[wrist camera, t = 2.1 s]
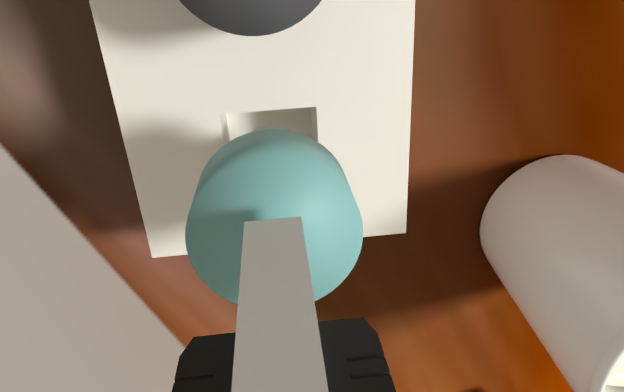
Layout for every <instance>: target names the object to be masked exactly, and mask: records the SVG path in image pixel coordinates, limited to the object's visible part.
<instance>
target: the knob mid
mask: <svg viewBox="0 0 624 392" xmlns="http://www.w3.org/2000/svg"><path fill="white" fill-rule="evenodd" d="M179 1H180V2H181V3H182V4H183V5H184V6H185V7H186V8H187V9H188V10H189V11H190V12H191V13H192V14H194V15H195V16H196V17H198V18H199V19H200V20H202V21H203V22H205V23H207V24H209V25H210V26H212V27H214V28H217V29H219V30H221V31H224V32H227V33H231V34H235V35H241V36H264V35H270V34H274V33H277V32H281V31H283V30H285V29H288V28H290V27H292V26H294V25H295V24H297V23H298V22H300V21H302V20H303V19H304V18H305V17H306V16H308V15H309V14H310V13H311V12H312V11H313V10H314V9H315V8H316V7H317V6H318V5H319V3H320V2H321V1H322V0H179Z"/></svg>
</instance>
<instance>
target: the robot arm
mask: <svg viewBox="0 0 624 392" xmlns="http://www.w3.org/2000/svg"><path fill="white" fill-rule="evenodd" d="M172 392H396V390H395V387H394V384H393V381H392V377H391V375H390V373H389V368H388V365H387V362H386V359H385V358H384V352H383V349H382V346H381V343H380V340H379V337H378V334H377V332H376V331H375V330H374V329H373V328H372V327H371V326H370V325H369V324H368V323H367V322H366V321H365V320H364V318H363V317H359V318H350V319H341V320H332V321H322V322H318V321H317V315H316V308H315V302H314V295H313V289H312V283H311V276H310V270H309V264H308V257H307V251H306V245H305V238H304V232H303V226H302V219H301V216H300V217H289V218H278V219H268V220H257V221H247V222H244V231H243V244H242V257H241V270H240V283H239V296H238V310H237V323H236V333H227V334H217V335H208V336H199V337H193V339H192V340H191V342H190V343H189V344H188V346H187V347H186V349H185V350H184V351H183V353H182V354H181V356H180V357H179V362H178V366H177V371H176V376H175V383H174V385H173V389H172Z"/></svg>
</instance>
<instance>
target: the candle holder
mask: <svg viewBox="0 0 624 392" xmlns="http://www.w3.org/2000/svg"><path fill="white" fill-rule="evenodd" d="M480 241H481V246H482V249H483V252H484V254H485V256H486V258H487V260H488V261H489V263H490V265H491V266H492V268H493V270H494V271H495V273H496V274H497V276H498V277H499V279H500V281H501V282H502V284H503V285H504V287H505V288H506V290H507V291H508V293H509V294H510V296H511V297H512V299H513V301H514V302H515V304H516V305H517V307H518V308H519V310H520V311H521V313H522V314H523V316H524V317H525V319H526V320H527V322H528V323H529V325H530V326H531V328H532V329H533V331H534V333H535V334H536V336H537V337H538V339H539V340H540V342H541V343H542V345H543V346H544V348H545V349H546V351H547V352H548V354H549V355H550V357H551V358H552V360H553V361H554V363H555V364H556V366H557V368H558V369H559V371H560V372H561V374H562V375H563V377H564V378H565V380H566V381H567V383H568V384H569V386H570V387H571V389H572V390H573V392H624V173H622V172H620V171H618V170H615V169H613V168H611V167H609V166H606V165H604V164H602V163H599V162H597V161H595V160H592V159H589V158H586V157H582V156H577V155H555V156H550V157H545V158H542V159H539V160H536V161H534V162H532V163H529V164H527V165H526V166H524V167H522V168H520V169H519V170H517V171H516V172H514V173H513V174H512V175H510V176H509V177H508V178H507V179H506V180H505V181H504V182H503V183H502V184H501V185H500V186H499V187H498V188H497V189H496V191H495V192H494V193H493V195H492V196H491V198H490V199H489V201H488V203H487V205H486V207H485V209H484V212H483V215H482V218H481V223H480Z"/></svg>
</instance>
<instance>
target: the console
mask: <svg viewBox="0 0 624 392" xmlns="http://www.w3.org/2000/svg"><path fill="white" fill-rule="evenodd" d="M89 3H90V7H91V11H92V15H93V19H94V23H95V27H96V31H97V35H98V39H99V43H100V47H101V51H102V55H103V60H104V64H105V68H106V72H107V76H108V80H109V84H110V88H111V92H112V96H113V100H114V104H115V108H116V112H117V116H118V120H119V124H120V128H121V133H122V137H123V141H124V145H125V149H126V153H127V157H128V161H129V165H130V169H131V173H132V177H133V181H134V185H135V189H136V193H137V197H138V201H139V206H140V210H141V214H142V218H143V222H144V226H145V230H146V234H147V238H148V242H149V246H150V250H151V254H152V258H155V257H166V256H176V255H186V254H188V253H187V250H186V243H185V228H186V222H187V217H188V214H189V211H190V208H191V204H192V201H193V198H194V195H195V191H196V188H197V185H198V182H199V179H200V176H201V173H202V171H203V169H204V168H205V166H206V164H207V163H208V161H209V160H210V158H211V157H212V156H213V155H214V154H215V153H216V152H217V151H218V150H219V149H220V148H221V147H223V146H224V145H225V144H226V143H228V142H230V141H231V140H233V139H235V138H237V137H239V136H242V135H244V134H247V133H250V132H252V131H254V130H255V129H258V128H260V127H264V126H279V127H283V128H286V129H287V130H289V131H293V132H297V133H300V134H303V135H305V136H308V137H310V138H312V139H314V140H316V141H317V142H319V143H320V144H321V145H323V146H324V147H325V148H327V149H328V150H329V151H330V152H331V153H332V154H333V156H334V157H335V158H336V159H337V161H338V162H339V164H340V166H341V167H342V169H343V171H344V174H345V176H346V179H347V181H348V183H349V186H350V188H351V191H352V193H353V196H354V198H355V201H356V203H357V206H358V208H359V211H360V214H361V218H362V222H363V237H369V236H379V235H390V234H400V233H406V221H407V196H408V171H409V145H410V120H411V95H412V70H413V44H414V19H415V0H322V1H321V2H320V3H319V5H318V6H317V7H316V8H315V9H314V10H313V11H312V12H311V13H310V14H309V15H308V16H306V17H305V18H304V19H303V20H302V21H300V22H298V23H297V24H295V25H294V26H292V27H290V28H288V29H285V30H283V31H281V32H277V33H274V34H270V35H264V36H241V35H235V34H231V33H227V32H224V31H221V30H219V29H217V28H214V27H212V26H210V25H209V24H207V23H205V22H203V21H202V20H200V19H199V18H198V17H196V16H195V15H194V14H192V13H191V12H190V11H189V10H188V9H187V8H186V7H185V6H184V5H183V4H182V3H181V2H180V1H179V0H89Z"/></svg>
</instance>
